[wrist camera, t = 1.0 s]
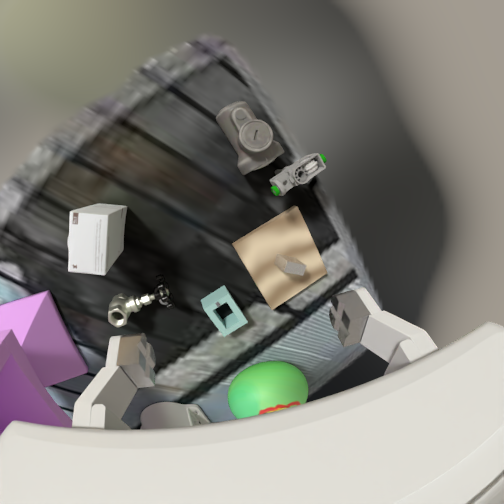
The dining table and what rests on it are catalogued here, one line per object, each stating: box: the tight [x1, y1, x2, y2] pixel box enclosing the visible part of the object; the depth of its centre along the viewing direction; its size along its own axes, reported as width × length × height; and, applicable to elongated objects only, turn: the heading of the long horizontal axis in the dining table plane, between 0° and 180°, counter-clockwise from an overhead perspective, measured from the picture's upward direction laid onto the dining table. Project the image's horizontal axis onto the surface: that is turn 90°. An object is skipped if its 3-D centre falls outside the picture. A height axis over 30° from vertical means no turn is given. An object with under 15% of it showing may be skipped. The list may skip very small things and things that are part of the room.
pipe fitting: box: [216, 101, 284, 175], centre depth 43 cm, size 12×8×10 cm, turn 29°
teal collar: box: [201, 285, 248, 337], centre depth 53 cm, size 7×5×4 cm
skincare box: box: [68, 204, 127, 275], centre depth 38 cm, size 8×6×15 cm
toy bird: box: [228, 361, 308, 419], centre depth 56 cm, size 18×17×15 cm
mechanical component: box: [270, 153, 326, 196], centre depth 46 cm, size 3×10×10 cm, turn 124°
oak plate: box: [232, 206, 327, 310], centre depth 55 cm, size 16×14×2 cm
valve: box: [108, 274, 175, 327], centre depth 47 cm, size 7×7×12 cm
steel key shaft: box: [274, 254, 307, 276], centre depth 52 cm, size 4×2×5 cm, turn 74°
